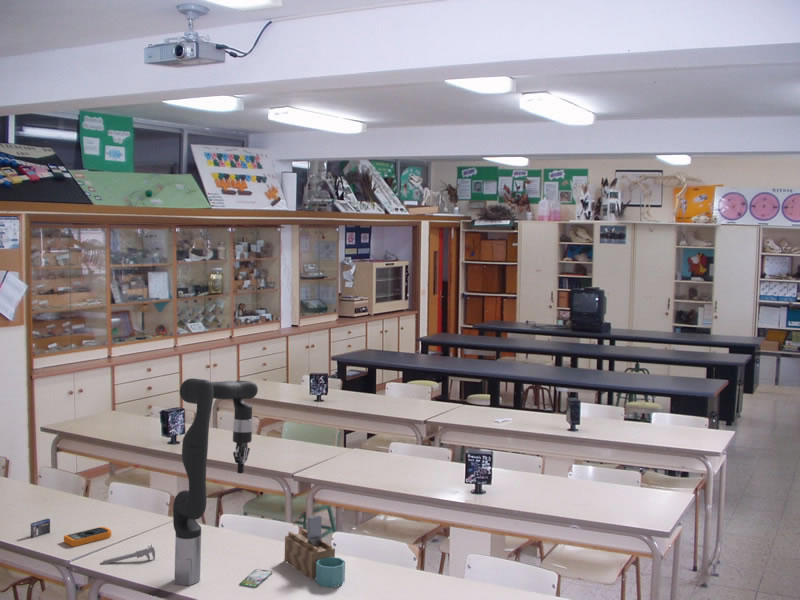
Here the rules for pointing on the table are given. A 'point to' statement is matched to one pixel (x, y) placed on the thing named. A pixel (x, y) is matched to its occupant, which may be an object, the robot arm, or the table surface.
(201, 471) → the robot arm
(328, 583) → the cup
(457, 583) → the table surface
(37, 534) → the mini dv tape
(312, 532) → the gray rectangular block
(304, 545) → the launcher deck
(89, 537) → the multimeter
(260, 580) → the smartphone
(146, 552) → the caliper
